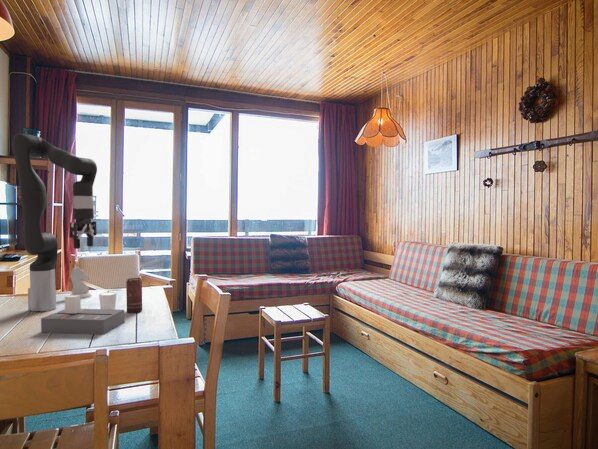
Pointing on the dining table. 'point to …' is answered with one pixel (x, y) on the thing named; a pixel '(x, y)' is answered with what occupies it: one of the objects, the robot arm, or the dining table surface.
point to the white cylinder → (107, 300)
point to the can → (134, 295)
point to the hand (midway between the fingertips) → (83, 247)
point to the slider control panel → (83, 321)
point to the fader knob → (72, 304)
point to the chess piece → (80, 283)
